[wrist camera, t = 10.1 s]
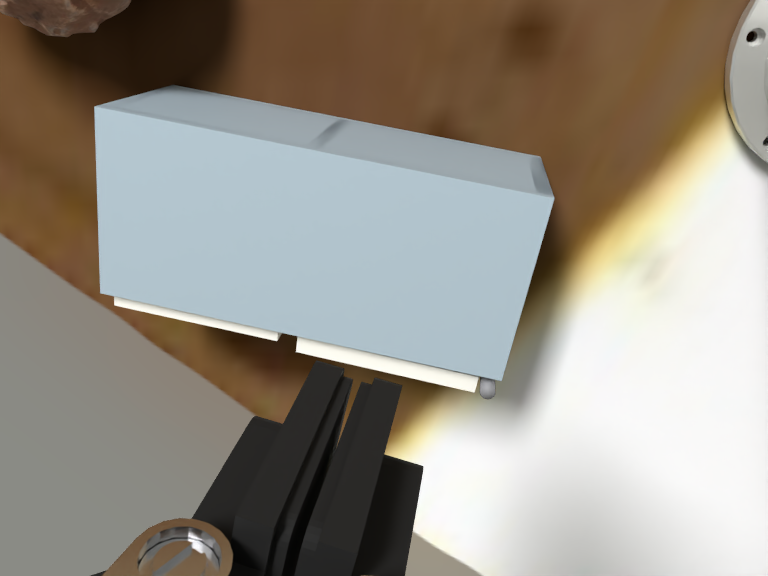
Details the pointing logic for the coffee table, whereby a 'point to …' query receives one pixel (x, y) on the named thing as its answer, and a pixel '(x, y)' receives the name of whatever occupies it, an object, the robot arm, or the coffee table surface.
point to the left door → (397, 366)
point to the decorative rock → (63, 14)
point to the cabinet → (317, 227)
